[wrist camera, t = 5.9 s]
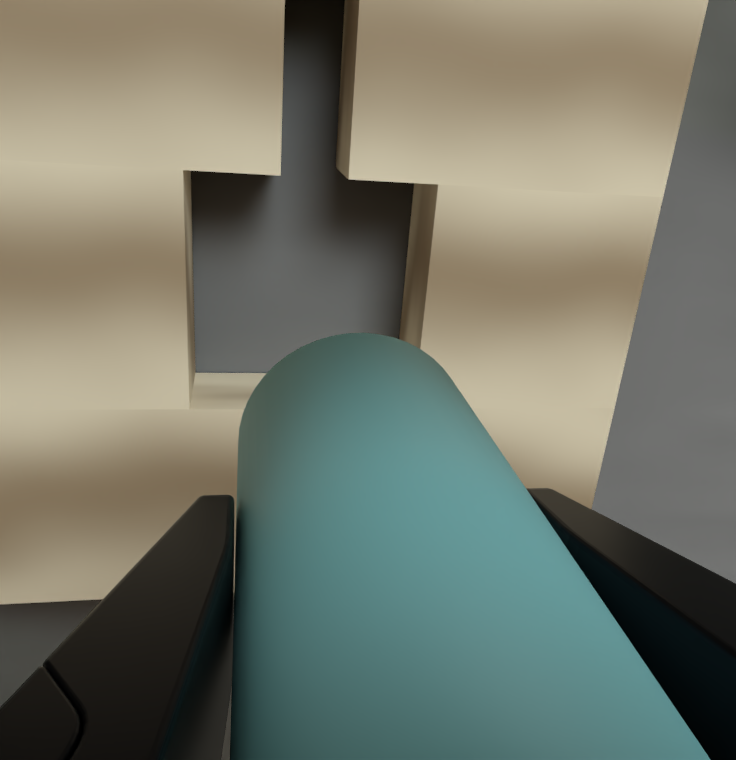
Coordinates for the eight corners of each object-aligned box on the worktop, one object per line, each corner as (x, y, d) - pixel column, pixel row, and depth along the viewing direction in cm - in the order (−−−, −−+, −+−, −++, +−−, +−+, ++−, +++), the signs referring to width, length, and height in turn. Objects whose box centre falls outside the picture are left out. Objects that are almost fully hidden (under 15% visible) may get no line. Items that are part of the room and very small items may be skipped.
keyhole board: (545, 530, 25) (576, 576, 23) (0, 550, 22) (-28, 605, 19) (665, -56, 18) (725, -76, 16) (-109, -155, 15) (-173, -198, 12)
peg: (479, 560, 12) (971, 1579, 4) (200, 571, 11) (72, 1892, 3) (524, 297, 10) (1622, 1169, 2) (194, 287, 10) (-158, 1674, 1)
